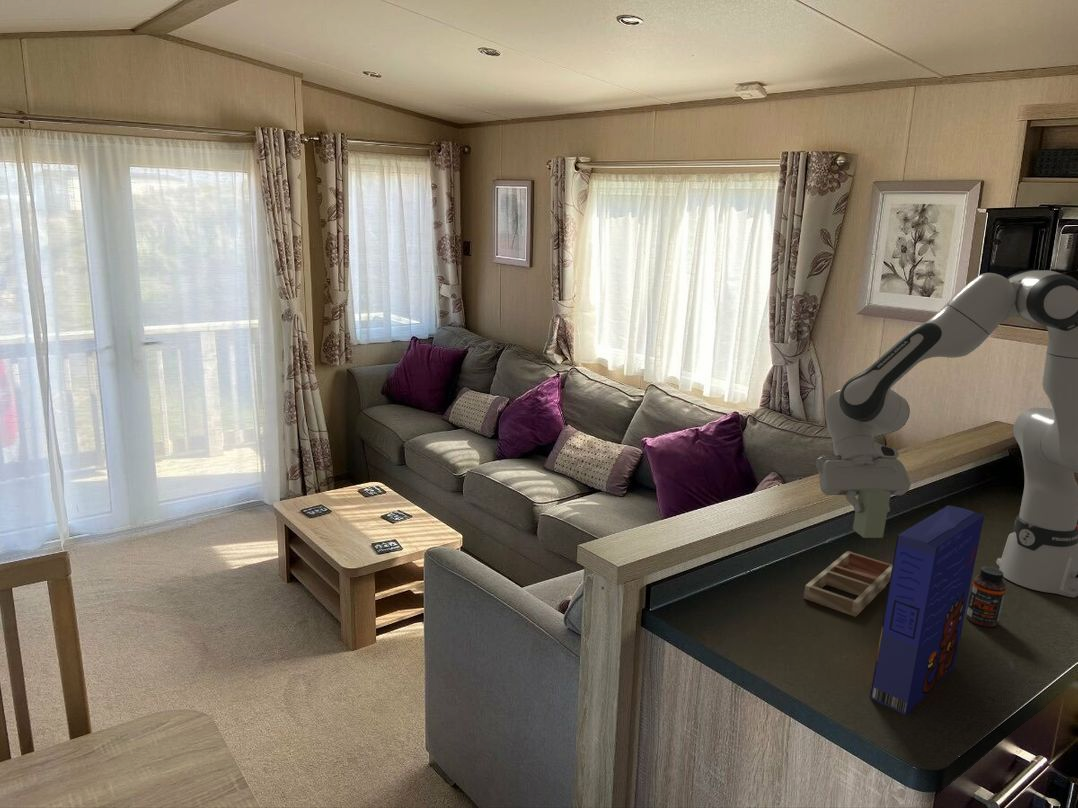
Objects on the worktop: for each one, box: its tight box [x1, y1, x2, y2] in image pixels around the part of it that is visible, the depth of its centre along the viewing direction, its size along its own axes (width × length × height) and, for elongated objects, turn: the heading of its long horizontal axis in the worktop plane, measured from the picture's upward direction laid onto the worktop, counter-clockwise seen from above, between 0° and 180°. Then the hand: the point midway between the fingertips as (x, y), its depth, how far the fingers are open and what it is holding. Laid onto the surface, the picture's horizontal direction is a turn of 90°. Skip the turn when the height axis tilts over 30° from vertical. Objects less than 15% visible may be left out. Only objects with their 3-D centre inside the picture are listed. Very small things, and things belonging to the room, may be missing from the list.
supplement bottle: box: [965, 566, 1007, 628], centre depth 163 cm, size 6×6×11 cm
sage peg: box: [852, 489, 891, 539], centre depth 177 cm, size 5×5×10 cm
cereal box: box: [869, 504, 985, 716], centre depth 137 cm, size 22×6×30 cm, turn 134°
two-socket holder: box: [803, 550, 893, 618], centre depth 175 cm, size 25×11×3 cm, turn 140°
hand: (873, 511), depth 177 cm, fingers closed on sage peg, 5 cm apart
